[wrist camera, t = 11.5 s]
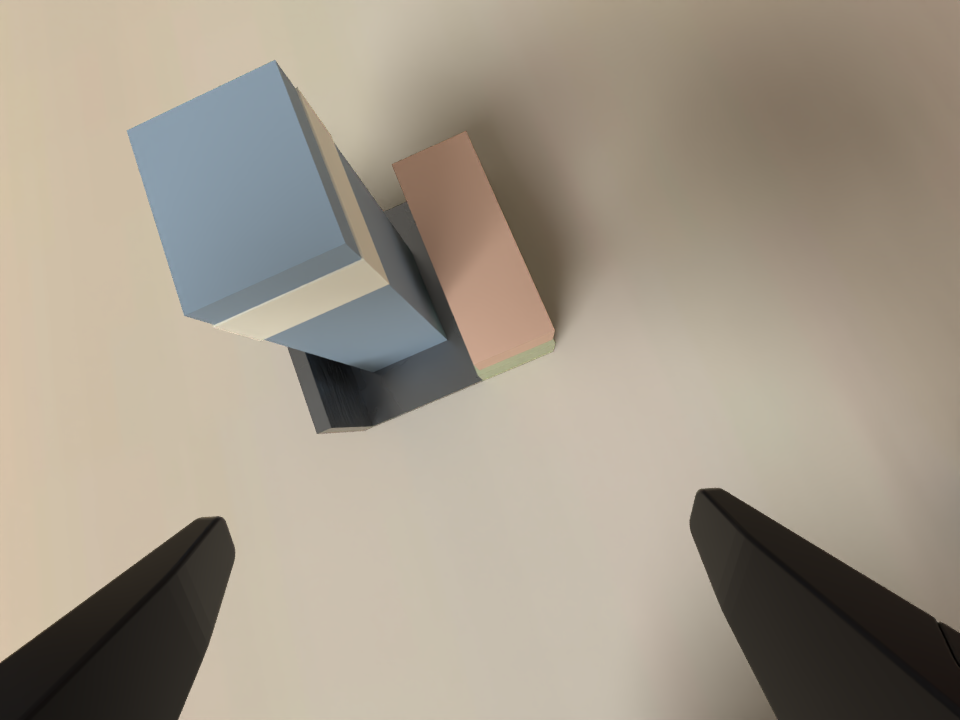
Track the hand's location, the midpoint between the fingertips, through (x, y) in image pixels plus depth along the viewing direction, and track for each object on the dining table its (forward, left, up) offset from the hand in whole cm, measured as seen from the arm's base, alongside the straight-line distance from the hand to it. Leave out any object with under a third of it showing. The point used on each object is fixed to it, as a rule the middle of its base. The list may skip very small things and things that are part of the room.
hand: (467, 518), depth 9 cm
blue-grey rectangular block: (+6, +7, -13) cm, 16 cm away
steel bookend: (+6, +7, -13) cm, 16 cm away
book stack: (+9, +2, -13) cm, 16 cm away
